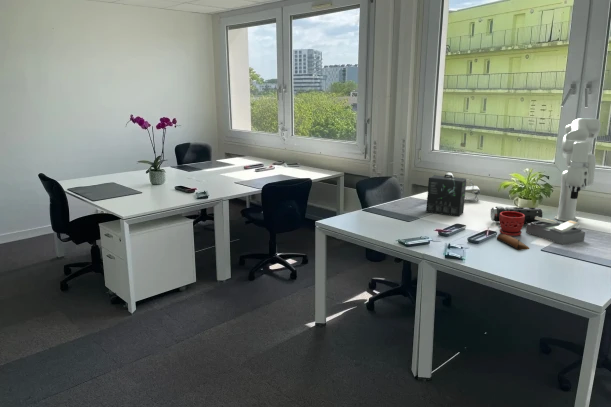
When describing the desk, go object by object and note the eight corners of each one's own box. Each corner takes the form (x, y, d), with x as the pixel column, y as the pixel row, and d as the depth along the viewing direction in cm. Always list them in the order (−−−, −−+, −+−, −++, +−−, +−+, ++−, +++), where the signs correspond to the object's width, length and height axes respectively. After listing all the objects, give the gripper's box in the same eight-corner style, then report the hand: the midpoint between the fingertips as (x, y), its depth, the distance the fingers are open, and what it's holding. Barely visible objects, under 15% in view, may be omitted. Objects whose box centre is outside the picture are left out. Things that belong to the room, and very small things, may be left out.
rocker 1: (548, 222, 263) (549, 219, 262) (556, 224, 258) (557, 221, 258) (534, 219, 258) (535, 216, 258) (541, 221, 253) (542, 218, 253)
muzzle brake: (541, 225, 275) (543, 209, 272) (493, 224, 277) (495, 208, 275) (535, 221, 284) (537, 205, 281) (489, 220, 286) (490, 204, 284)
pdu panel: (541, 227, 271) (542, 217, 269) (583, 241, 246) (585, 230, 244) (521, 230, 265) (522, 220, 264) (562, 244, 240) (564, 233, 239)
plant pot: (494, 230, 265) (496, 210, 263) (516, 230, 265) (519, 210, 262) (502, 237, 253) (505, 216, 250) (526, 237, 252) (529, 216, 249)
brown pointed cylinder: (531, 248, 234) (527, 238, 232) (520, 256, 233) (515, 246, 231) (509, 238, 251) (505, 228, 249) (499, 245, 250) (494, 235, 248)
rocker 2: (570, 222, 250) (569, 219, 250) (578, 225, 246) (578, 222, 245) (554, 230, 247) (553, 227, 246) (562, 232, 242) (561, 230, 242)
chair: (443, 197, 351) (445, 172, 347) (477, 198, 345) (480, 173, 340) (444, 201, 339) (446, 175, 334) (479, 202, 332) (481, 176, 328)
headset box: (464, 213, 304) (467, 175, 298) (459, 217, 295) (462, 178, 288) (431, 208, 316) (433, 172, 310) (425, 212, 306) (427, 174, 300)
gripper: (596, 166, 235) (591, 200, 240) (571, 162, 249) (566, 195, 253) (586, 167, 233) (581, 201, 237) (561, 163, 247) (556, 196, 251)
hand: (573, 198), depth 245 cm, fingers closed
